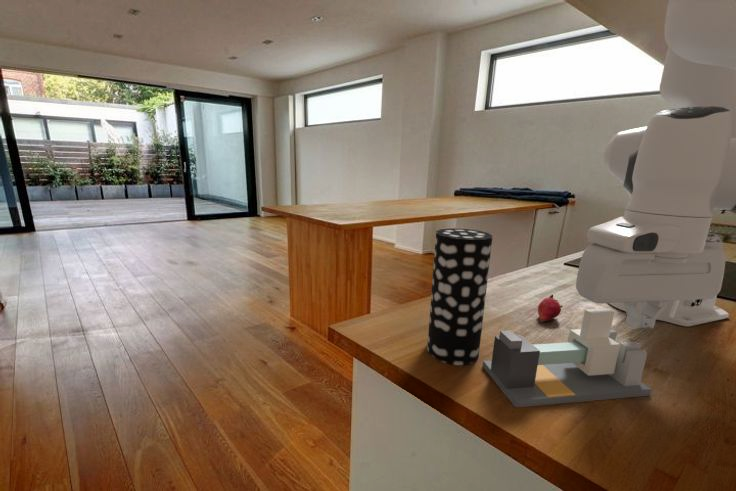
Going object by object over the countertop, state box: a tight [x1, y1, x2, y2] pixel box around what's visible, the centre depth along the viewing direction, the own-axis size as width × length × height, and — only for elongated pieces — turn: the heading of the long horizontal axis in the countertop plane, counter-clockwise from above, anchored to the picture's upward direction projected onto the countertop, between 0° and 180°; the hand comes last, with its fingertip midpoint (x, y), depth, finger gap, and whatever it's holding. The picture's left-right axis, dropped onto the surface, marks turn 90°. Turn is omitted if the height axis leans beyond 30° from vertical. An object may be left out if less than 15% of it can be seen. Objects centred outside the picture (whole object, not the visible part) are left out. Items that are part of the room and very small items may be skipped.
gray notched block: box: [608, 328, 648, 386], centre depth 50 cm, size 2×7×6 cm, turn 9°
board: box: [482, 359, 652, 408], centre depth 49 cm, size 20×9×1 cm, turn 99°
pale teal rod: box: [533, 341, 588, 365], centre depth 48 cm, size 16×2×2 cm, turn 99°
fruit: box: [537, 294, 563, 323], centre depth 68 cm, size 4×6×5 cm
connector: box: [491, 329, 540, 389], centre depth 47 cm, size 4×4×7 cm
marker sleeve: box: [567, 308, 620, 376], centre depth 48 cm, size 4×5×9 cm
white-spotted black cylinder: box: [427, 227, 493, 366], centre depth 54 cm, size 8×8×20 cm
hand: (638, 327), depth 49 cm, fingers closed
